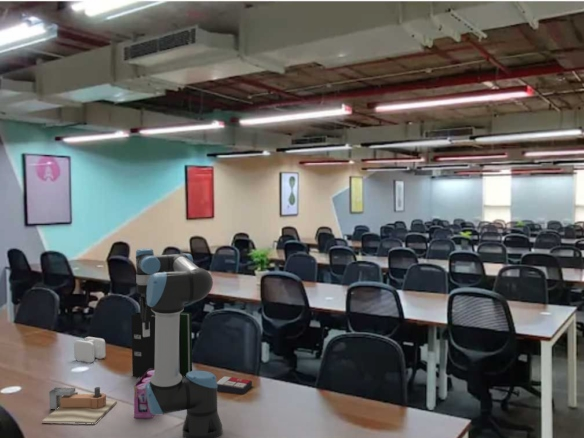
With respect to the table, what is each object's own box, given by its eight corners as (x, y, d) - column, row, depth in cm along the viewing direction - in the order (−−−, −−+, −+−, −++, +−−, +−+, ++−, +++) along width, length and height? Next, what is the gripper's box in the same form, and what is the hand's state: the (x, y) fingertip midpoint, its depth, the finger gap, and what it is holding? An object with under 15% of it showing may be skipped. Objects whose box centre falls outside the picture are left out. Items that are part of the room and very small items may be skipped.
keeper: (70, 410, 223) (69, 392, 223) (49, 410, 224) (49, 391, 223) (77, 404, 230) (77, 386, 230) (58, 403, 231) (57, 385, 230)
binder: (193, 374, 268) (192, 312, 267) (176, 383, 255) (175, 319, 254) (150, 368, 279) (149, 308, 278) (131, 376, 265) (130, 314, 264)
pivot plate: (94, 424, 209) (94, 402, 208) (41, 423, 210) (41, 401, 210) (116, 403, 231) (116, 383, 230) (68, 402, 232) (68, 382, 232)
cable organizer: (72, 360, 294) (72, 340, 293) (87, 355, 303) (87, 335, 303) (92, 364, 287) (91, 343, 287) (106, 358, 296) (106, 338, 296)
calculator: (243, 387, 240) (213, 382, 244) (243, 396, 240) (213, 391, 245) (252, 379, 250) (223, 374, 255) (251, 388, 251) (223, 383, 255)
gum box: (151, 419, 213) (151, 387, 213) (132, 419, 213) (132, 387, 213) (166, 397, 237) (165, 368, 237) (149, 397, 237) (148, 368, 237)
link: (107, 402, 228) (107, 393, 228) (102, 408, 222) (102, 398, 221) (66, 402, 228) (65, 393, 228) (59, 408, 222) (59, 399, 221)
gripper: (158, 284, 227) (159, 338, 228) (149, 281, 238) (150, 332, 239) (140, 286, 223) (141, 340, 224) (132, 282, 234) (133, 334, 235)
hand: (146, 336), depth 232 cm, fingers closed
